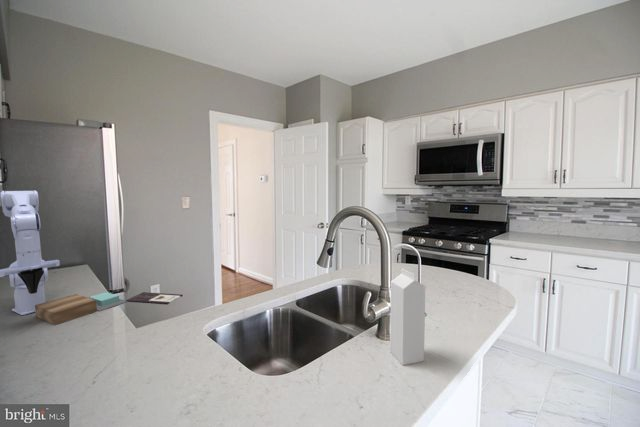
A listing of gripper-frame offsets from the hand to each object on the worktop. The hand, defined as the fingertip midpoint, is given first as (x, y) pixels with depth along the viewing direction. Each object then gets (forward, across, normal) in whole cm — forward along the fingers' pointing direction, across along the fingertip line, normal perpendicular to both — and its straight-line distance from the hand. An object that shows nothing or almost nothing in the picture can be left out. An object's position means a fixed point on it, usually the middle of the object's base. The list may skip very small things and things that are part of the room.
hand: (32, 292), depth 98 cm
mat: (+10, +19, -1) cm, 22 cm away
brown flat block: (+10, +8, -1) cm, 13 cm away
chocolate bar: (+11, +31, -15) cm, 36 cm away
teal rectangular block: (+8, +20, -1) cm, 21 cm away
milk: (+10, +35, -111) cm, 117 cm away
